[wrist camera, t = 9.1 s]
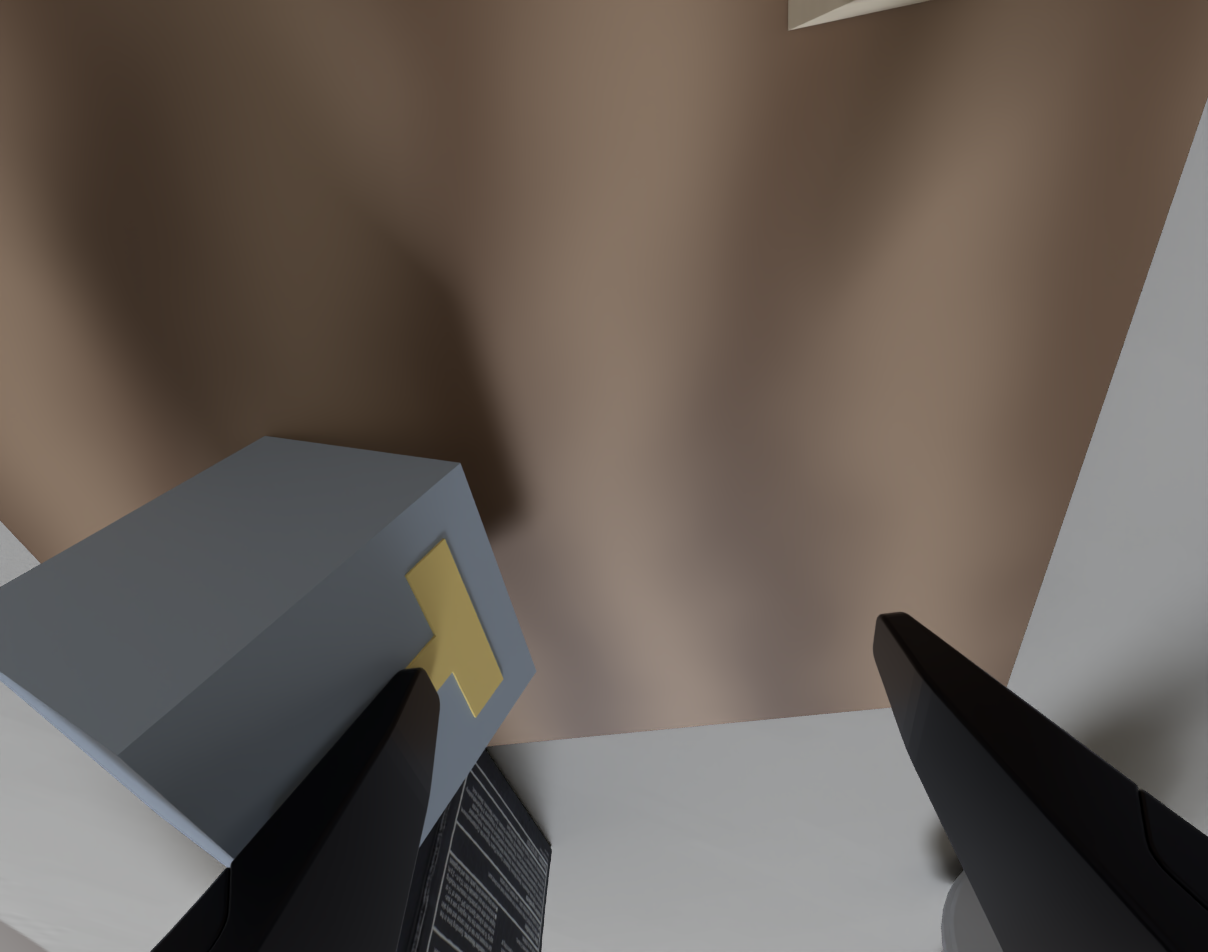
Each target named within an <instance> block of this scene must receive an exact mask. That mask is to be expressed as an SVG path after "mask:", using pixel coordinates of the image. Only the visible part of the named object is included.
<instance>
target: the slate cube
mask: <svg viewBox="0 0 1208 952" xmlns="http://www.w3.org/2000/svg"><path fill="white" fill-rule="evenodd" d="M418 667H421V668H423V669H424V670H425V671H426V672H427V674H428V676H429V678H430V680H431V681H432V683H433V685H434V687H435V689H436V691H437V693H438V695H439V699H440V714H439V723H438V732H437V741H436V750H435V759H434V767H433V776H432V785H431V792H430V798H429V803H428V809H427V813H426V818H425V823H424V827H423V832H422V836H421V841H420V845H419V847H420V846H421V844H422V843H423V841H424V840H425V838H426V837H427V835H428V834H429V832H430V831H431V829H432V828H433V826H434V825H435V823H436V822H437V820H438V819H439V817H440V816H441V814H442V813H443V811H444V810H445V808H446V807H447V805H448V804H449V802H450V801H451V799H452V798H453V796H454V795H455V793H456V792H457V790H458V789H459V787H460V786H461V784H462V783H463V781H464V780H465V778H466V777H467V775H468V774H469V772H470V771H471V769H472V768H473V766H474V765H475V763H476V762H477V760H478V759H479V757H480V756H481V754H482V753H483V751H484V749H485V748H486V746H487V745H488V743H489V742H490V740H491V739H492V737H493V736H494V734H495V733H496V731H497V730H498V728H499V727H500V725H501V724H502V722H503V721H504V719H505V718H506V716H507V715H508V713H509V712H510V710H511V709H512V707H513V706H514V704H515V703H516V701H517V700H518V698H519V697H520V695H521V694H522V692H523V691H524V689H525V688H526V686H527V685H528V683H529V682H530V680H531V679H532V677H533V676H534V674H535V673H536V669H535V666H534V663H533V660H532V658H531V655H530V652H529V649H528V647H527V644H526V641H525V638H524V636H523V633H522V630H521V628H520V625H519V622H518V619H517V617H516V614H515V611H514V608H513V606H512V603H511V600H510V597H509V595H508V592H507V589H506V586H505V584H504V581H503V578H502V575H501V573H500V570H499V567H498V564H497V562H496V559H495V556H494V554H493V551H492V548H491V545H490V543H489V540H488V537H487V534H486V532H485V529H484V526H483V523H482V521H481V518H480V515H479V512H478V510H477V507H476V504H475V501H474V499H473V496H472V493H471V491H470V488H469V485H468V482H467V480H466V477H465V474H464V471H463V469H462V466H461V463H458V462H450V461H443V460H436V459H429V458H422V457H414V456H407V455H400V454H393V453H385V452H378V451H371V450H364V449H357V448H349V447H342V446H335V445H328V444H320V443H313V442H306V441H299V440H292V439H284V438H277V437H270V436H264V437H262V438H260V439H258V440H257V441H255V442H253V443H251V444H250V445H248V446H246V447H244V448H243V449H241V450H239V451H237V452H236V453H234V454H232V455H230V456H229V457H227V458H225V459H223V460H222V461H220V462H218V463H216V464H215V465H213V466H211V467H209V468H208V469H206V470H204V471H202V472H201V473H199V474H197V475H195V476H194V477H192V478H190V479H188V480H187V481H185V482H183V483H181V484H180V485H178V486H176V487H174V488H173V489H171V490H169V491H167V492H166V493H164V494H162V495H160V496H159V497H157V498H155V499H153V500H152V501H150V502H148V503H146V504H145V505H143V506H141V507H139V508H138V509H136V510H134V511H132V512H131V513H129V514H127V515H125V516H124V517H122V518H120V519H118V520H117V521H115V522H113V523H111V524H110V525H108V526H106V527H104V528H103V529H101V530H99V531H97V532H96V533H94V534H92V535H91V536H89V537H87V538H85V539H84V540H82V541H80V542H78V543H77V544H75V545H73V546H71V547H70V548H68V549H66V550H64V551H63V552H61V553H59V554H57V555H56V556H54V557H52V558H50V559H49V560H47V561H45V562H43V563H42V564H40V565H38V566H36V567H35V568H33V569H31V570H29V571H28V572H26V573H24V574H22V575H21V576H19V577H17V578H15V579H14V580H12V581H10V582H8V583H7V584H5V585H3V586H1V587H0V681H2V682H3V683H4V684H5V685H6V686H7V687H9V688H10V689H11V690H12V691H13V692H15V693H16V694H17V695H18V696H19V697H20V698H22V699H23V700H24V701H25V702H26V703H27V704H29V705H30V706H31V707H32V708H33V709H35V710H36V711H37V712H38V713H39V714H40V715H42V716H43V717H44V718H45V719H46V720H47V721H49V722H50V723H51V724H52V725H53V726H54V727H56V728H57V729H58V730H59V731H60V732H62V733H63V734H64V735H65V736H66V737H67V738H69V739H70V740H71V741H72V742H73V743H74V744H76V745H77V746H78V747H79V748H80V749H82V750H83V751H84V752H85V753H86V754H87V755H89V756H90V757H91V758H92V759H93V760H94V761H96V762H97V763H98V764H99V765H100V766H102V767H103V768H104V769H105V770H106V771H107V772H109V773H110V774H111V775H112V776H113V777H114V778H116V779H117V780H118V781H119V782H120V783H122V784H123V785H124V786H125V787H126V788H127V789H129V790H130V791H131V792H132V793H133V794H134V795H136V796H137V797H138V798H139V799H140V800H141V801H143V802H144V803H145V804H146V805H147V806H149V807H150V808H151V809H152V810H153V811H154V812H156V813H157V814H158V815H159V816H160V817H162V818H163V819H164V820H166V821H167V822H168V823H170V824H171V825H172V826H173V827H175V828H176V829H177V830H179V831H180V832H181V833H183V834H184V835H185V836H187V837H188V838H189V839H190V840H192V841H193V842H194V843H196V844H197V845H198V846H200V847H201V848H202V849H204V850H205V851H206V852H207V853H209V854H210V855H211V856H213V857H214V858H215V859H217V860H218V861H219V862H221V863H222V864H223V865H224V866H226V867H227V868H228V867H230V864H231V862H232V861H233V860H234V859H235V857H236V856H237V855H238V854H239V853H240V852H241V851H242V849H243V848H244V847H245V846H246V845H247V844H248V842H249V841H250V840H251V839H252V838H253V837H254V836H255V834H256V833H257V832H258V831H259V830H260V829H261V828H262V826H263V825H264V824H265V823H266V822H267V821H268V820H269V818H270V817H271V816H272V815H273V814H274V813H275V812H276V810H277V809H278V808H279V807H280V806H281V805H282V804H283V802H284V801H285V800H286V799H287V798H288V797H289V796H290V794H291V793H292V792H293V791H294V790H295V789H296V787H297V786H298V785H299V784H300V783H301V782H302V781H303V779H304V778H305V777H306V776H307V775H308V774H309V773H310V771H311V770H312V769H313V768H314V767H315V766H316V765H317V763H318V762H319V761H320V760H321V759H322V758H323V757H324V755H325V754H326V753H327V752H328V751H329V750H330V749H331V747H332V746H333V745H334V744H335V743H336V742H337V741H338V739H339V738H340V737H341V736H342V735H343V734H344V732H345V731H346V730H347V729H348V728H349V727H350V726H351V724H352V723H353V722H354V721H355V720H356V719H357V718H358V716H359V715H360V714H361V713H362V712H363V711H364V710H365V708H366V707H367V706H368V705H369V704H370V703H371V702H372V700H373V699H374V698H375V697H376V696H377V695H378V694H379V692H380V691H381V690H382V689H383V688H384V687H385V686H386V684H387V683H388V682H389V681H390V680H391V679H392V677H393V676H394V675H395V674H396V673H397V672H399V671H400V670H403V669H409V668H418Z"/></svg>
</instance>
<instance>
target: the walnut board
mask: <svg viewBox="0 0 1208 952" xmlns="http://www.w3.org/2000/svg"><path fill="white" fill-rule="evenodd" d="M1207 98H1208V0H930V1H925V2H921V3H916V4H911V5H906V6H902V7H897V8H892V9H888V10H883V11H878V12H873V13H869V14H864V15H859V16H855V17H850V18H845V19H840V20H836V21H831V22H826V23H822V24H817V25H812V26H807V27H803V28H798V29H793V30H789V31H788V0H0V521H1V522H2V523H3V524H4V525H5V526H6V527H7V528H8V529H9V530H10V531H11V532H12V534H13V535H14V536H15V537H16V538H17V539H18V540H19V541H20V542H21V543H22V544H23V545H24V546H25V547H26V548H27V549H28V550H29V551H30V553H31V554H32V555H33V556H34V557H35V558H36V559H37V560H38V561H39V562H40V563H41V564H42V563H43V562H45V561H47V560H49V559H50V558H52V557H54V556H56V555H57V554H59V553H61V552H63V551H64V550H66V549H68V548H70V547H71V546H73V545H75V544H77V543H78V542H80V541H82V540H84V539H85V538H87V537H89V536H91V535H92V534H94V533H96V532H97V531H99V530H101V529H103V528H104V527H106V526H108V525H110V524H111V523H113V522H115V521H117V520H118V519H120V518H122V517H124V516H125V515H127V514H129V513H131V512H132V511H134V510H136V509H138V508H139V507H141V506H143V505H145V504H146V503H148V502H150V501H152V500H153V499H155V498H157V497H159V496H160V495H162V494H164V493H166V492H167V491H169V490H171V489H173V488H174V487H176V486H178V485H180V484H181V483H183V482H185V481H187V480H188V479H190V478H192V477H194V476H195V475H197V474H199V473H201V472H202V471H204V470H206V469H208V468H209V467H211V466H213V465H215V464H216V463H218V462H220V461H222V460H223V459H225V458H227V457H229V456H230V455H232V454H234V453H236V452H237V451H239V450H241V449H243V448H244V447H246V446H248V445H250V444H251V443H253V442H255V441H257V440H258V439H260V438H262V437H264V436H270V437H277V438H284V439H292V440H299V441H306V442H313V443H320V444H328V445H335V446H342V447H349V448H357V449H364V450H371V451H378V452H385V453H393V454H400V455H407V456H414V457H422V458H429V459H436V460H443V461H450V462H458V463H461V466H462V469H463V471H464V474H465V477H466V480H467V482H468V485H469V488H470V491H471V493H472V496H473V499H474V501H475V504H476V507H477V510H478V512H479V515H480V518H481V521H482V523H483V526H484V529H485V532H486V534H487V537H488V540H489V543H490V545H491V548H492V551H493V554H494V556H495V559H496V562H497V564H498V567H499V570H500V573H501V575H502V578H503V581H504V584H505V586H506V589H507V592H508V595H509V597H510V600H511V603H512V606H513V608H514V611H515V614H516V617H517V619H518V622H519V625H520V628H521V630H522V633H523V636H524V638H525V641H526V644H527V647H528V649H529V652H530V655H531V658H532V660H533V663H534V666H535V669H536V673H535V674H534V676H533V677H532V679H531V680H530V682H529V683H528V685H527V686H526V688H525V689H524V691H523V692H522V694H521V695H520V697H519V698H518V700H517V701H516V703H515V704H514V706H513V707H512V709H511V710H510V712H509V713H508V715H507V716H506V718H505V719H504V721H503V722H502V724H501V725H500V727H499V728H498V730H497V731H496V733H495V734H494V736H493V737H492V739H491V740H490V742H489V743H488V745H487V746H497V745H507V744H518V743H528V742H538V741H549V740H559V739H569V738H580V737H590V736H600V735H611V734H621V733H632V732H642V731H652V730H663V729H673V728H683V727H694V726H704V725H714V724H725V723H735V722H745V721H756V720H766V719H776V718H787V717H797V716H808V715H818V714H828V713H839V712H849V711H859V710H870V709H880V708H890V707H891V705H890V702H889V700H888V697H887V694H886V691H885V688H884V685H883V683H882V680H881V677H880V674H879V671H878V668H877V666H876V663H875V660H874V656H873V640H874V633H875V625H876V619H877V617H878V616H879V615H880V614H883V613H892V612H905V613H907V614H909V615H910V616H912V617H913V618H914V619H916V620H917V621H918V622H920V623H921V624H922V625H924V626H925V627H926V628H928V629H929V630H930V631H932V632H933V633H934V634H936V635H937V636H938V637H940V638H941V639H943V640H944V641H945V642H947V643H948V644H949V645H951V646H952V647H953V648H955V649H956V650H957V651H959V652H960V653H961V654H963V655H964V656H965V657H967V658H968V659H969V660H971V661H972V662H973V663H975V664H976V665H977V666H979V667H980V668H981V669H983V670H984V671H985V672H987V673H988V674H989V675H991V676H992V677H993V678H995V679H996V680H997V681H999V682H1000V683H1001V684H1003V685H1004V686H1005V687H1007V684H1008V681H1009V678H1010V675H1011V672H1012V670H1013V667H1014V664H1015V661H1016V658H1017V655H1018V652H1019V649H1020V646H1021V643H1022V640H1023V637H1024V634H1025V631H1026V629H1027V626H1028V623H1029V620H1030V617H1031V614H1032V611H1033V608H1034V605H1035V602H1036V599H1037V596H1038V593H1039V590H1040V587H1041V585H1042V582H1043V579H1044V576H1045V573H1046V570H1047V567H1048V564H1049V561H1050V558H1051V555H1052V552H1053V549H1054V546H1055V543H1056V541H1057V538H1058V535H1059V532H1060V529H1061V526H1062V523H1063V520H1064V517H1065V514H1066V511H1067V508H1068V505H1069V502H1070V499H1071V497H1072V494H1073V491H1074V488H1075V485H1076V482H1077V479H1078V476H1079V473H1080V470H1081V467H1082V464H1083V461H1084V458H1085V455H1086V453H1087V450H1088V447H1089V444H1090V441H1091V438H1092V435H1093V432H1094V429H1095V426H1096V423H1097V420H1098V417H1099V414H1100V411H1101V409H1102V406H1103V403H1104V400H1105V397H1106V394H1107V391H1108V388H1109V385H1110V382H1111V379H1112V376H1113V373H1114V370H1115V368H1116V365H1117V362H1118V359H1119V356H1120V353H1121V350H1122V347H1123V344H1124V341H1125V338H1126V335H1127V332H1128V329H1129V326H1130V324H1131V321H1132V318H1133V315H1134V312H1135V309H1136V306H1137V303H1138V300H1139V297H1140V294H1141V291H1142V288H1143V285H1144V282H1145V280H1146V277H1147V274H1148V271H1149V268H1150V265H1151V262H1152V259H1153V256H1154V253H1155V250H1156V247H1157V244H1158V241H1159V238H1160V236H1161V233H1162V230H1163V227H1164V224H1165V221H1166V218H1167V215H1168V212H1169V209H1170V206H1171V203H1172V200H1173V197H1174V194H1175V192H1176V189H1177V186H1178V183H1179V180H1180V177H1181V174H1182V171H1183V168H1184V165H1185V162H1186V159H1187V156H1188V153H1189V150H1190V148H1191V145H1192V142H1193V139H1194V136H1195V133H1196V130H1197V127H1198V124H1199V121H1200V118H1201V115H1202V112H1203V109H1204V107H1205V104H1206V101H1207ZM487 746H486V747H487Z"/></svg>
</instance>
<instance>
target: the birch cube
mask: <svg viewBox="0 0 1208 952" xmlns="http://www.w3.org/2000/svg"><path fill="white" fill-rule="evenodd" d="M925 1H930V0H788V31H789V30H793V29H798V28H803V27H807V26H812V25H817V24H822V23H826V22H831V21H836V20H840V19H845V18H850V17H855V16H859V15H864V14H869V13H873V12H878V11H883V10H888V9H892V8H897V7H902V6H906V5H911V4H916V3H921V2H925Z"/></svg>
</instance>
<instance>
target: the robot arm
mask: <svg viewBox="0 0 1208 952" xmlns="http://www.w3.org/2000/svg"><path fill="white" fill-rule="evenodd" d="M873 656H874V660H875V663H876V666H877V668H878V671H879V674H880V677H881V680H882V683H883V685H884V688H885V691H886V694H887V697H888V700H889V702H890V705H891V708H892V711H893V714H894V716H895V719H896V722H897V725H898V728H899V731H900V733H901V736H902V739H903V741H904V744H905V747H906V749H907V752H908V754H909V756H910V759H911V761H912V763H913V765H914V767H915V770H916V772H917V774H918V776H919V778H920V780H921V782H922V784H923V786H924V788H925V790H926V792H927V795H928V797H929V799H930V801H931V803H932V805H933V807H934V809H935V811H936V813H937V815H938V817H939V819H940V822H941V824H942V826H943V828H944V830H945V832H946V834H947V836H948V838H949V840H950V842H951V844H952V847H953V849H954V851H955V853H956V855H957V857H958V859H959V861H960V863H961V865H962V867H963V869H964V871H965V874H966V876H967V878H968V880H969V882H970V884H971V886H972V888H973V890H974V892H975V894H976V896H977V899H978V901H979V903H980V905H981V907H982V909H983V911H984V913H985V915H986V917H987V919H988V921H989V923H990V926H991V928H992V930H993V932H994V934H995V936H996V938H997V940H998V942H999V944H1000V946H1001V948H1002V951H1003V952H1208V836H1206V835H1205V834H1203V833H1202V832H1201V831H1199V830H1198V829H1196V828H1195V827H1194V826H1192V825H1191V824H1190V823H1188V822H1187V821H1185V820H1184V819H1183V818H1181V817H1180V816H1178V815H1177V814H1176V813H1174V812H1173V811H1172V810H1170V809H1169V808H1168V807H1166V806H1165V805H1164V804H1162V803H1161V802H1160V801H1158V800H1157V799H1156V798H1154V797H1153V796H1152V795H1150V794H1149V793H1148V792H1146V791H1145V790H1138V787H1137V785H1136V784H1135V783H1134V782H1133V781H1131V780H1130V779H1128V778H1127V777H1126V776H1124V775H1123V774H1122V773H1120V772H1119V771H1118V770H1116V769H1115V768H1114V767H1112V766H1111V765H1110V764H1108V763H1107V762H1106V761H1104V760H1103V759H1102V758H1100V757H1099V756H1098V755H1096V754H1095V753H1094V752H1092V751H1091V750H1090V749H1088V748H1087V747H1086V746H1084V745H1083V744H1082V743H1080V742H1079V741H1078V740H1076V739H1075V738H1074V737H1072V736H1071V735H1070V734H1068V733H1067V732H1066V731H1064V730H1063V729H1062V728H1060V727H1059V726H1058V725H1056V724H1055V723H1054V722H1052V721H1051V720H1050V719H1048V718H1047V717H1046V716H1044V715H1043V714H1042V713H1040V712H1039V711H1038V710H1036V709H1035V708H1033V707H1032V706H1031V705H1029V704H1028V703H1027V702H1025V701H1024V700H1023V699H1021V698H1020V697H1019V696H1017V695H1016V694H1015V693H1013V692H1012V691H1011V690H1009V689H1008V688H1007V687H1005V686H1004V685H1003V684H1001V683H1000V682H999V681H997V680H996V679H995V678H993V677H992V676H991V675H989V674H988V673H987V672H985V671H984V670H983V669H981V668H980V667H979V666H977V665H976V664H975V663H973V662H972V661H971V660H969V659H968V658H967V657H965V656H964V655H963V654H961V653H960V652H959V651H957V650H956V649H955V648H953V647H952V646H951V645H949V644H948V643H947V642H945V641H944V640H943V639H941V638H940V637H938V636H937V635H936V634H934V633H933V632H932V631H930V630H929V629H928V628H926V627H925V626H924V625H922V624H921V623H920V622H918V621H917V620H916V619H914V618H913V617H912V616H910V615H909V614H907V613H905V612H892V613H883V614H880V615H879V616H878V617H877V619H876V625H875V633H874V640H873ZM439 714H440V699H439V695H438V693H437V691H436V689H435V687H434V685H433V683H432V681H431V680H430V678H429V676H428V674H427V672H426V671H425V670H424V669H423V668H421V667H418V668H409V669H403V670H400V671H399V672H397V673H396V674H395V675H394V676H393V677H392V679H391V680H390V681H389V682H388V683H387V684H386V686H385V687H384V688H383V689H382V690H381V691H380V692H379V694H378V695H377V696H376V697H375V698H374V699H373V700H372V702H371V703H370V704H369V705H368V706H367V707H366V708H365V710H364V711H363V712H362V713H361V714H360V715H359V716H358V718H357V719H356V720H355V721H354V722H353V723H352V724H351V726H350V727H349V728H348V729H347V730H346V731H345V732H344V734H343V735H342V736H341V737H340V738H339V739H338V741H337V742H336V743H335V744H334V745H333V746H332V747H331V749H330V750H329V751H328V752H327V753H326V754H325V755H324V757H323V758H322V759H321V760H320V761H319V762H318V763H317V765H316V766H315V767H314V768H313V769H312V770H311V771H310V773H309V774H308V775H307V776H306V777H305V778H304V779H303V781H302V782H301V783H300V784H299V785H298V786H297V787H296V789H295V790H294V791H293V792H292V793H291V794H290V796H289V797H288V798H287V799H286V800H285V801H284V802H283V804H282V805H281V806H280V807H279V808H278V809H277V810H276V812H275V813H274V814H273V815H272V816H271V817H270V818H269V820H268V821H267V822H266V823H265V824H264V825H263V826H262V828H261V829H260V830H259V831H258V832H257V833H256V834H255V836H254V837H253V838H252V839H251V840H250V841H249V842H248V844H247V845H246V846H245V847H244V848H243V849H242V851H241V852H240V853H239V854H238V855H237V856H236V857H235V859H234V860H233V861H232V862H231V864H230V867H228V868H226V869H225V870H224V871H223V872H222V873H221V874H220V875H219V877H218V878H217V879H216V880H215V881H214V882H213V883H212V885H211V886H210V887H209V888H208V889H207V890H206V891H205V893H204V894H203V895H202V896H201V897H200V898H199V899H198V900H197V902H196V903H195V904H194V905H193V906H192V907H191V908H190V909H189V910H188V912H187V913H186V914H185V915H184V916H183V917H182V918H181V919H180V920H179V922H178V923H177V924H176V925H175V926H174V927H173V928H172V929H171V930H170V931H169V933H168V934H167V935H166V936H165V937H164V938H163V939H162V940H161V941H160V942H159V943H158V944H157V945H156V946H155V947H154V948H153V949H152V950H151V951H150V952H396V951H397V946H398V942H399V937H400V932H401V928H402V923H403V919H404V914H405V910H406V905H407V900H408V896H409V891H410V887H411V882H412V878H413V873H414V868H415V864H416V859H417V855H418V850H419V845H420V841H421V836H422V832H423V827H424V823H425V818H426V813H427V809H428V803H429V798H430V792H431V785H432V776H433V767H434V759H435V750H436V741H437V732H438V723H439Z"/></svg>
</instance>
